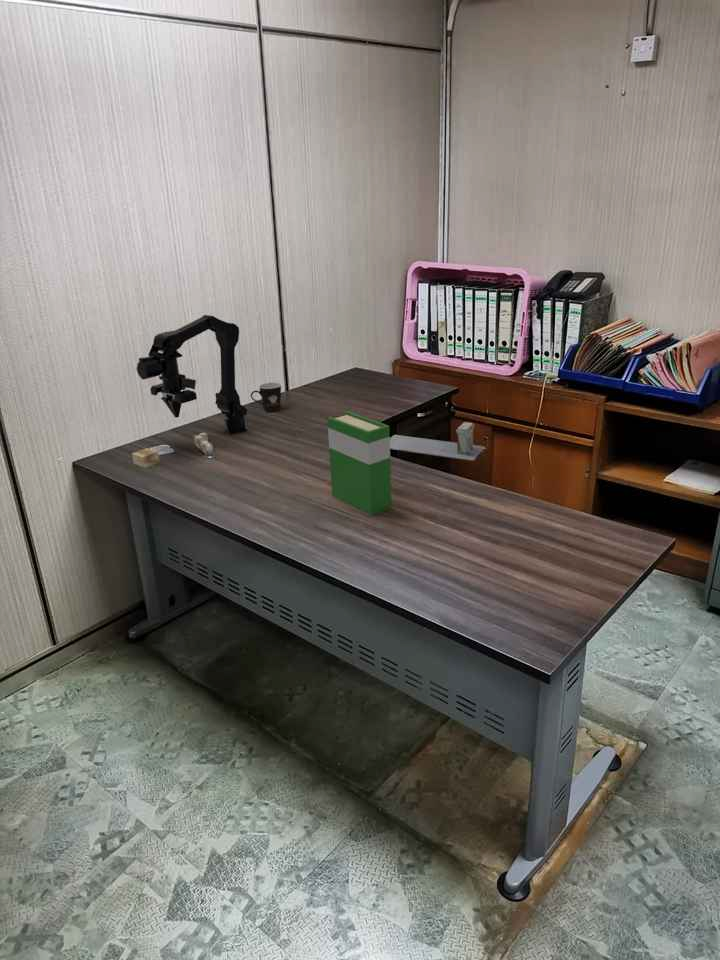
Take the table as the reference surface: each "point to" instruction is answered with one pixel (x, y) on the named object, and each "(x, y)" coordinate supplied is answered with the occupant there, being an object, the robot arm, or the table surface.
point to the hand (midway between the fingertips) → (176, 417)
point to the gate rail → (200, 442)
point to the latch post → (204, 436)
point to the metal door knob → (209, 451)
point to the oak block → (145, 457)
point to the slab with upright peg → (441, 445)
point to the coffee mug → (270, 396)
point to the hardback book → (360, 462)
